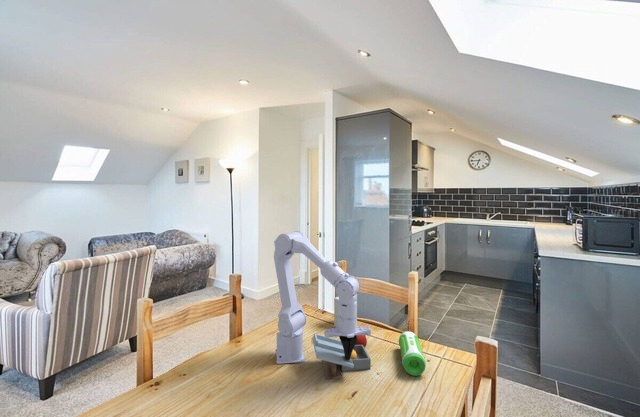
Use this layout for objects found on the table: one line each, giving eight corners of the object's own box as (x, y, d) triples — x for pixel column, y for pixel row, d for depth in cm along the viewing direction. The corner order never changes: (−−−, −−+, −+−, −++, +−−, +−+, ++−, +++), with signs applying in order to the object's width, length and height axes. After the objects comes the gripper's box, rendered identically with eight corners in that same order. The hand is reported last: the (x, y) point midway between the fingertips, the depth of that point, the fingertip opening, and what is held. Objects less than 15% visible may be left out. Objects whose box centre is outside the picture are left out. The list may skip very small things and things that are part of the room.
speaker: (398, 348, 111) (398, 328, 111) (418, 350, 110) (418, 330, 110) (402, 376, 94) (402, 353, 94) (426, 379, 93) (427, 355, 93)
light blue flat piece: (316, 358, 90) (319, 351, 90) (312, 338, 103) (314, 332, 103) (353, 367, 92) (355, 360, 92) (344, 347, 104) (346, 341, 104)
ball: (354, 366, 100) (344, 361, 99) (352, 359, 104) (342, 355, 103) (360, 355, 100) (349, 351, 99) (357, 349, 104) (347, 345, 103)
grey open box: (342, 371, 96) (342, 361, 96) (336, 355, 106) (336, 346, 106) (370, 369, 98) (370, 359, 97) (362, 354, 107) (362, 344, 107)
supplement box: (357, 326, 130) (357, 297, 129) (346, 331, 125) (347, 302, 124) (344, 321, 135) (344, 293, 135) (333, 326, 130) (333, 297, 129)
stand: (326, 379, 92) (326, 363, 92) (322, 361, 102) (322, 347, 102) (342, 377, 93) (342, 362, 93) (336, 360, 103) (336, 346, 103)
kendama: (340, 334, 125) (348, 350, 107) (343, 319, 126) (351, 332, 108) (358, 337, 125) (369, 354, 108) (361, 322, 126) (371, 336, 108)
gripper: (327, 322, 89) (326, 366, 90) (373, 319, 91) (373, 363, 92) (323, 313, 96) (323, 354, 97) (367, 311, 98) (366, 351, 99)
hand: (347, 358), depth 95 cm, fingers closed
